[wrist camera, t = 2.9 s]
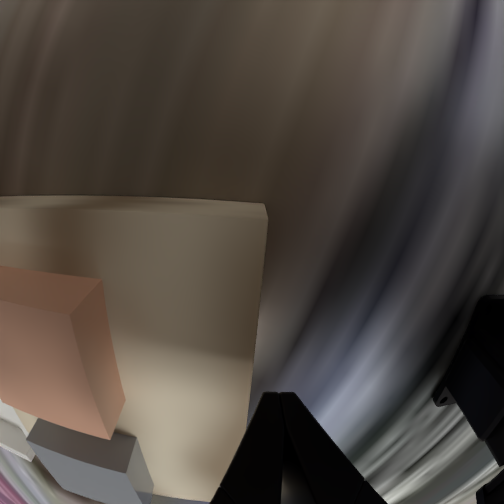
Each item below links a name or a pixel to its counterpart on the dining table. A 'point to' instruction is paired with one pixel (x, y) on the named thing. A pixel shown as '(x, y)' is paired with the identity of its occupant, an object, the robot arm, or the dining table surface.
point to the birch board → (161, 315)
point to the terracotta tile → (58, 351)
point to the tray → (14, 433)
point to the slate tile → (93, 463)
